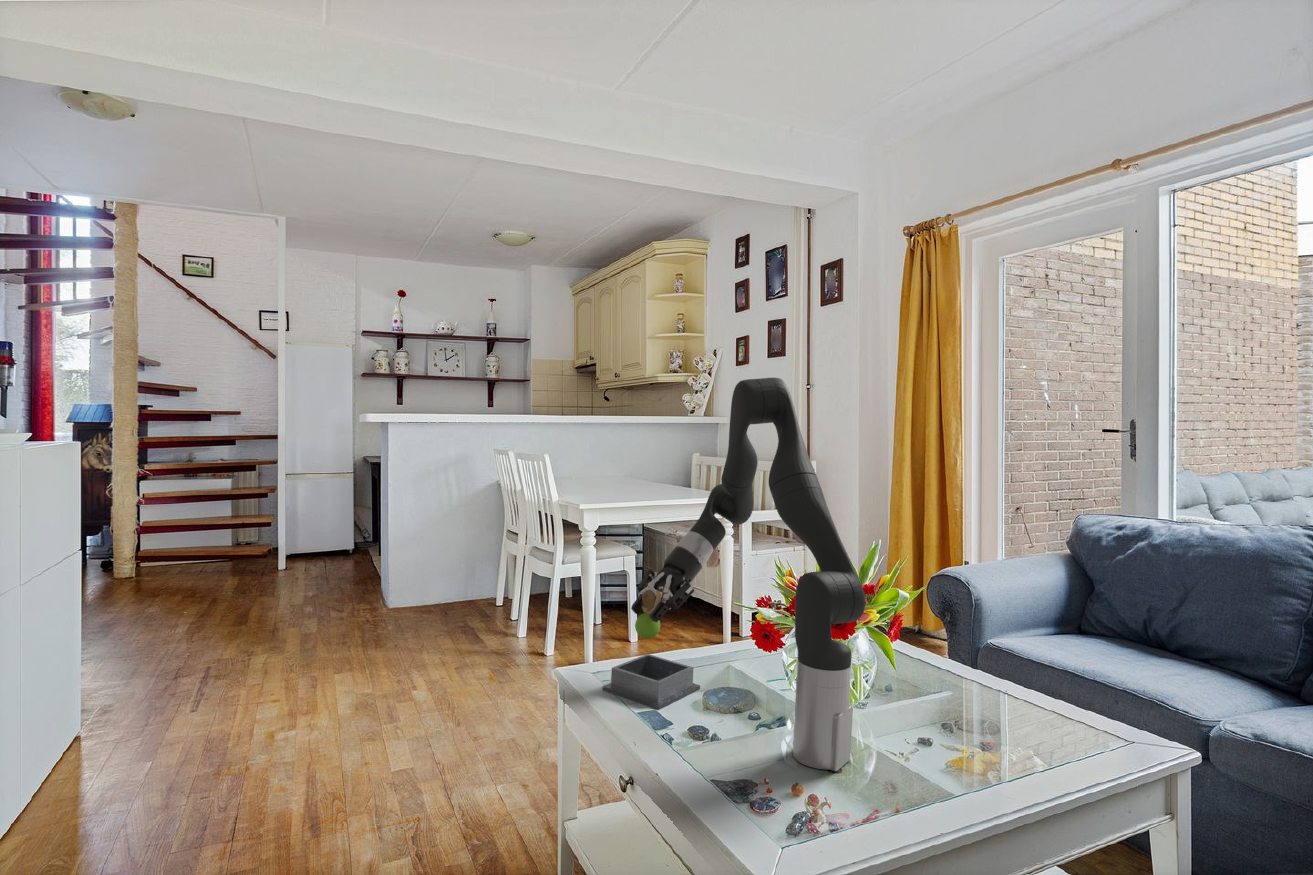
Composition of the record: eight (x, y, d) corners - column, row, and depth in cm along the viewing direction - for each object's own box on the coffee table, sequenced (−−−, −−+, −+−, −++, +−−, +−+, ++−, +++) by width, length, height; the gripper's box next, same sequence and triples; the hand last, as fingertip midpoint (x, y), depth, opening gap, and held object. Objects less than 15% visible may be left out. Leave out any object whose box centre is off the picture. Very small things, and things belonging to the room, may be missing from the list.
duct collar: (700, 688, 161) (701, 667, 161) (659, 709, 149) (660, 685, 149) (645, 671, 170) (646, 651, 170) (602, 689, 158) (603, 667, 158)
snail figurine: (647, 644, 154) (652, 588, 154) (629, 636, 159) (633, 581, 159) (667, 641, 158) (671, 585, 157) (648, 632, 163) (653, 579, 162)
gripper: (660, 539, 168) (614, 596, 161) (703, 551, 157) (656, 613, 150) (675, 561, 172) (631, 617, 165) (719, 574, 161) (673, 635, 154)
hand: (643, 615), depth 157 cm, fingers closed on snail figurine, 6 cm apart
